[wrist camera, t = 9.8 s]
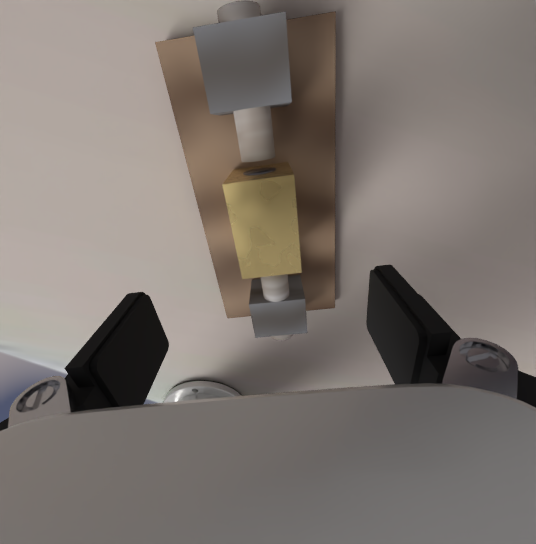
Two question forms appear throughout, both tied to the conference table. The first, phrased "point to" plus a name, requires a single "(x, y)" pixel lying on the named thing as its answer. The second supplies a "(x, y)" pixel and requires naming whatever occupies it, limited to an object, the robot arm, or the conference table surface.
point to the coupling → (264, 219)
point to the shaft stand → (261, 145)
